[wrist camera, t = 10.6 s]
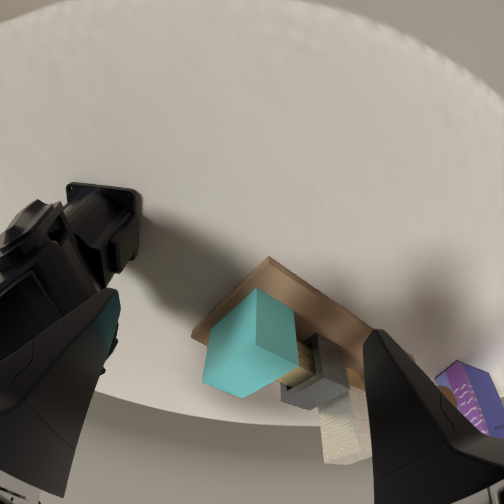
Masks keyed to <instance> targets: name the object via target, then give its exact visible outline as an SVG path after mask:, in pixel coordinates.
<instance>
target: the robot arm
mask: <svg viewBox="0 0 504 504" xmlns="http://www.w3.org/2000/svg"><path fill="white" fill-rule="evenodd" d="M71 187H72V188H73V190H72V189H71ZM66 194H67V204H66V205H64V206H62V203H61V201H59V202H57V203H54V204H49V205H47V204H45V203H43V202H41V201H40V200H38V199H37V200H35V201H33V202H32V203H30V204H29V205H28V206H26V207H25V208H24V209H23V210H22V211H20V212H19V213H18V214H17V215H16V216H15V217H14V219H13V220H12V222H11V223H10V225H9V226H8V227H7V229H6V230H5V231H4V232H3V233H2V234H1V235H0V504H41V503H40V501H39V497H40V493H41V490H43V491H46V492H48V493H51V494H53V495H56V496H59V497H61V498H64V495H65V490H66V486H67V481H68V477H69V473H70V469H71V465H72V461H73V457H74V454H75V449H76V446H77V443H78V439H79V436H80V433H81V429H82V426H83V423H84V420H85V417H86V414H87V410H88V408H89V405H90V402H91V399H92V396H93V393H94V390H95V387H96V385H97V382H98V379H99V376H100V375H102V374H104V373H105V371H106V370H105V368H104V367H103V366H104V363H105V361H106V360H107V359H108V358H109V356H110V355H111V354H112V353H113V351H114V349H115V347H116V345H117V343H118V339H117V338H116V336H117V330H118V325H119V324H118V318H119V315H120V310H121V307H120V300H119V294H118V291H117V290H116V289H112V288H106V287H107V286H108V284H109V282H110V281H111V279H112V277H113V276H114V274H115V273H117V274H120V273H121V272H122V271H123V269H124V267H125V266H126V264H127V262H128V261H133V260H134V259H135V258H136V256H137V246H138V244H139V229H138V217H137V215H136V195H135V192H134V191H133V190H132V189H129V188H121V187H113V186H104V185H96V184H87V183H77V182H71V183H69V184H68V185H67V186H66ZM127 194H130V196H131V198H129V197H128V196H127ZM363 367H364V385H365V393H366V401H367V409H368V417H369V427H370V437H371V448H372V461H373V476H374V504H504V438H498V437H492V436H488V435H486V434H484V433H482V432H481V431H479V430H478V429H477V428H476V427H475V426H474V425H473V424H472V423H471V422H470V421H469V420H468V419H467V418H466V417H465V416H464V415H463V414H462V413H461V412H460V411H459V410H458V409H457V408H456V407H455V406H454V405H453V404H452V403H451V402H450V401H449V400H448V398H447V397H446V396H445V395H444V394H443V393H442V392H440V390H439V388H438V387H437V386H436V385H435V384H434V383H433V382H432V381H431V380H430V378H429V377H428V376H427V375H426V374H425V373H424V372H423V371H422V370H421V369H420V367H419V366H418V365H417V364H416V363H415V362H414V361H413V360H412V359H411V358H410V357H409V356H408V354H407V353H406V352H405V351H404V350H403V349H402V348H401V347H400V346H399V345H398V344H397V343H396V342H395V341H394V340H393V339H392V337H391V336H390V335H389V334H388V333H387V332H386V331H385V330H383V329H373V330H372V331H371V333H370V334H369V336H368V337H367V339H366V340H365V342H364V344H363Z"/></svg>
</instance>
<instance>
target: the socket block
mask: <svg viewBox="0 0 504 504" xmlns="http://www.w3.org/2000/svg"><path fill="white" fill-rule="evenodd" d="M298 366H299V359H298V350H297V340H296V331H295V322H294V313H293V310H292V309H291V308H289V307H288V306H286V305H284V304H283V303H281V302H279V301H278V300H276V299H275V298H273V297H271V296H270V295H268V294H267V293H265V292H263V291H262V290H260V289H259V288H257V287H256V288H255V289H254V290H253V291H252V292H251V293H250V294H249V295H248V296H247V297H246V298H245V299H243V300H242V301H241V302H240V303H239V304H238V305H237V306H236V307H235V308H234V309H233V310H231V311H230V312H229V313H228V314H227V315H226V316H225V317H224V318H223V319H222V320H220V321H219V322H218V323H217V324H216V325H215V326H214V327H213V328H212V329H211V330H210V336H209V342H208V348H207V355H206V361H205V367H204V374H203V380H202V382H203V383H205V384H207V385H210V386H212V387H215V388H217V389H219V390H222V391H224V392H227V393H229V394H232V395H235V396H237V397H240V398H244V397H246V396H248V395H250V394H252V393H254V392H255V391H257V390H259V389H261V388H263V387H264V386H266V385H268V384H270V383H271V382H273V381H275V380H276V379H278V378H280V377H282V376H283V375H285V374H287V373H288V372H290V371H292V370H293V369H295V368H296V367H298Z"/></svg>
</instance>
